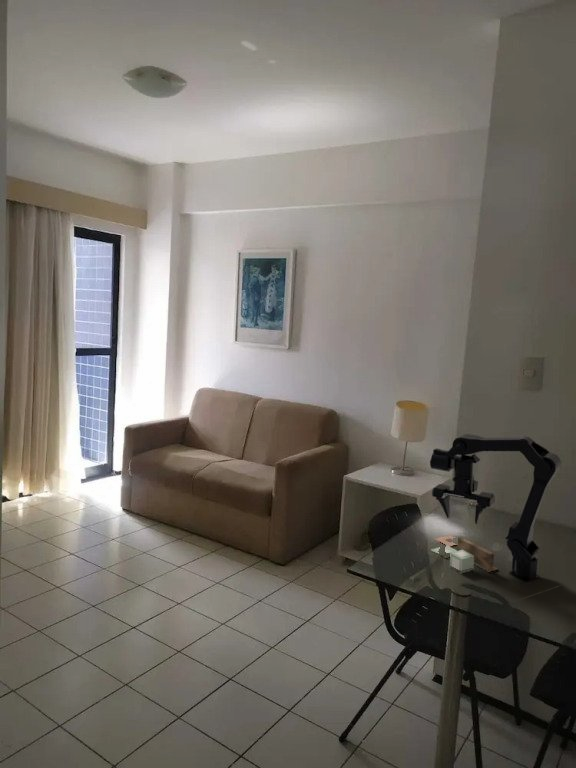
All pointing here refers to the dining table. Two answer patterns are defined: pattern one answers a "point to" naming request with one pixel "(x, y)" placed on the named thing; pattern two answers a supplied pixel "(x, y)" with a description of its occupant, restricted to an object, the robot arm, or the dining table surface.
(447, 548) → the sage pad
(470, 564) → the sage block
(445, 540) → the terracotta pad
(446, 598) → the dining table surface
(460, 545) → the walnut screen
